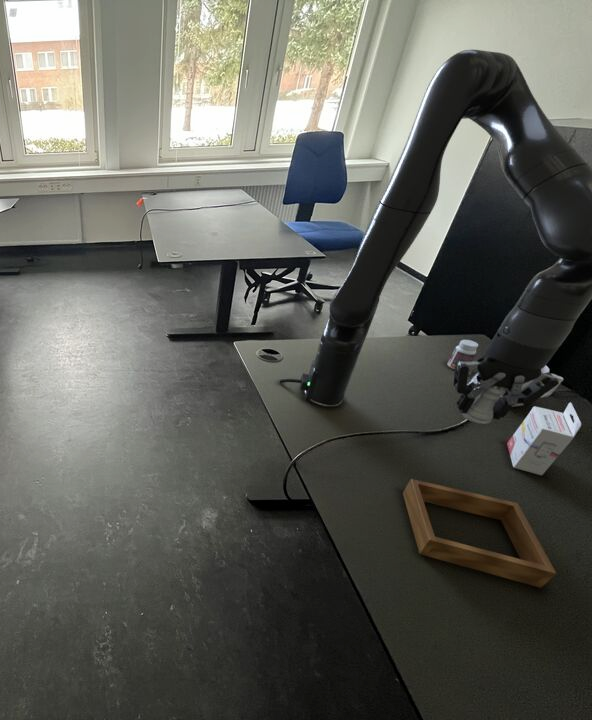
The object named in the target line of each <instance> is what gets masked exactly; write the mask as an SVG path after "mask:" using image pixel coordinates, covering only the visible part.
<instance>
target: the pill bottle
mask: <svg viewBox="0 0 592 720" xmlns="http://www.w3.org/2000/svg"><path fill="white" fill-rule="evenodd" d="M478 347H479V343H478V342H476V341H474V340H471V339H462V340H460V341H459V344H458V345H456V346H455V348H454V350H453V352H452V354H451V356H450V358H449V360H448V362H447V366H448V367H449V368H450V369H452V370H455V364H456V361H457V360H459V359H462V360H464V361H465V362H472V361H473V359H474V358H475V356H476V354H477V349H478Z"/></svg>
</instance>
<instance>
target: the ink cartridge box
mask: <svg viewBox="0 0 592 720" xmlns="http://www.w3.org/2000/svg"><path fill="white" fill-rule="evenodd" d="M572 418H573V419H572ZM581 428H582V422H581V419H580V418H579V415H578V413H577V411H576V409H575V408H574V405H573V403H572V402H569V403H568V404H567V406H566V407H565V409H564V411H563V412H561V411H557V410H554V409H553V410H552V409H549V408H544V407H541V406H535V405H534V406H533V407H532V408H531V410H530V411H529V413H528V414H527V416H525V418H524V419H523V421H522V423H521V424H520V425H519V426H518V428H517V429H516V431H515V432H514V433H513V434H512V436H511V437H510V439H509V440H508V441H507V443H506V445H507V449H508V452H509V453H508V454H509V457H510V460H511V464H512V467H513V469H517V470H521V471H524V472H527V473H531V474H533V475H534V474H535V475H537V476H543V475H544V474H545V473H546V471H547V470H548V469H549V468H550V467H551V465H552V464H553V463H554V462H555V460H557V458H558V457H560V455H561V454H562V453H563V451H564V450H565V449H566V448H567V446H568V445H569V444H570V443H571V442H572V441H573V439H574V438H575V437H576V435H577V433H578V432H579V431H580V429H581Z"/></svg>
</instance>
